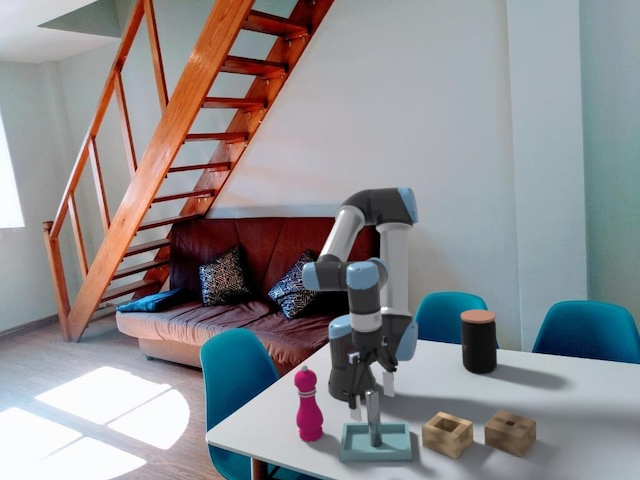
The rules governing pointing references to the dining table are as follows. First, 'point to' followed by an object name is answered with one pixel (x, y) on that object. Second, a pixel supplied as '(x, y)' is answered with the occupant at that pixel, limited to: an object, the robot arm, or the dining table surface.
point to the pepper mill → (308, 406)
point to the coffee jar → (479, 341)
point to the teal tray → (391, 450)
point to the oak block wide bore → (447, 434)
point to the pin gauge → (373, 417)
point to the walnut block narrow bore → (510, 433)
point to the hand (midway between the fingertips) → (373, 407)
